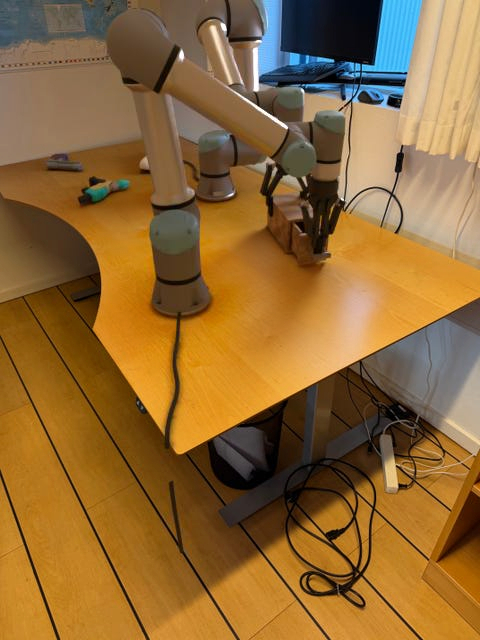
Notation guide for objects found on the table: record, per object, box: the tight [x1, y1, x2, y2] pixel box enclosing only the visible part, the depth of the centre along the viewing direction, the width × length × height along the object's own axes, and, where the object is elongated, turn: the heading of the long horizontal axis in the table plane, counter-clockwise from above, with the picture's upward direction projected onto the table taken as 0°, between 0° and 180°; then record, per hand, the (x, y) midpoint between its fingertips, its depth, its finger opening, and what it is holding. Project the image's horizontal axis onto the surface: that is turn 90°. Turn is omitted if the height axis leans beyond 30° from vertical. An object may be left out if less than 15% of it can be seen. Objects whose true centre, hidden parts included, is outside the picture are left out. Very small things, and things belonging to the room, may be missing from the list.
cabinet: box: [266, 191, 313, 254], centre depth 153 cm, size 20×10×11 cm, turn 15°
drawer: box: [290, 220, 332, 265], centre depth 143 cm, size 26×9×9 cm, turn 15°
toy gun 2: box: [77, 175, 130, 205], centre depth 186 cm, size 4×26×15 cm
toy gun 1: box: [44, 152, 84, 171], centre depth 216 cm, size 4×19×15 cm
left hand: (317, 257), depth 136 cm, fingers closed
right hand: (285, 213), depth 157 cm, fingers closed on cabinet, 10 cm apart
